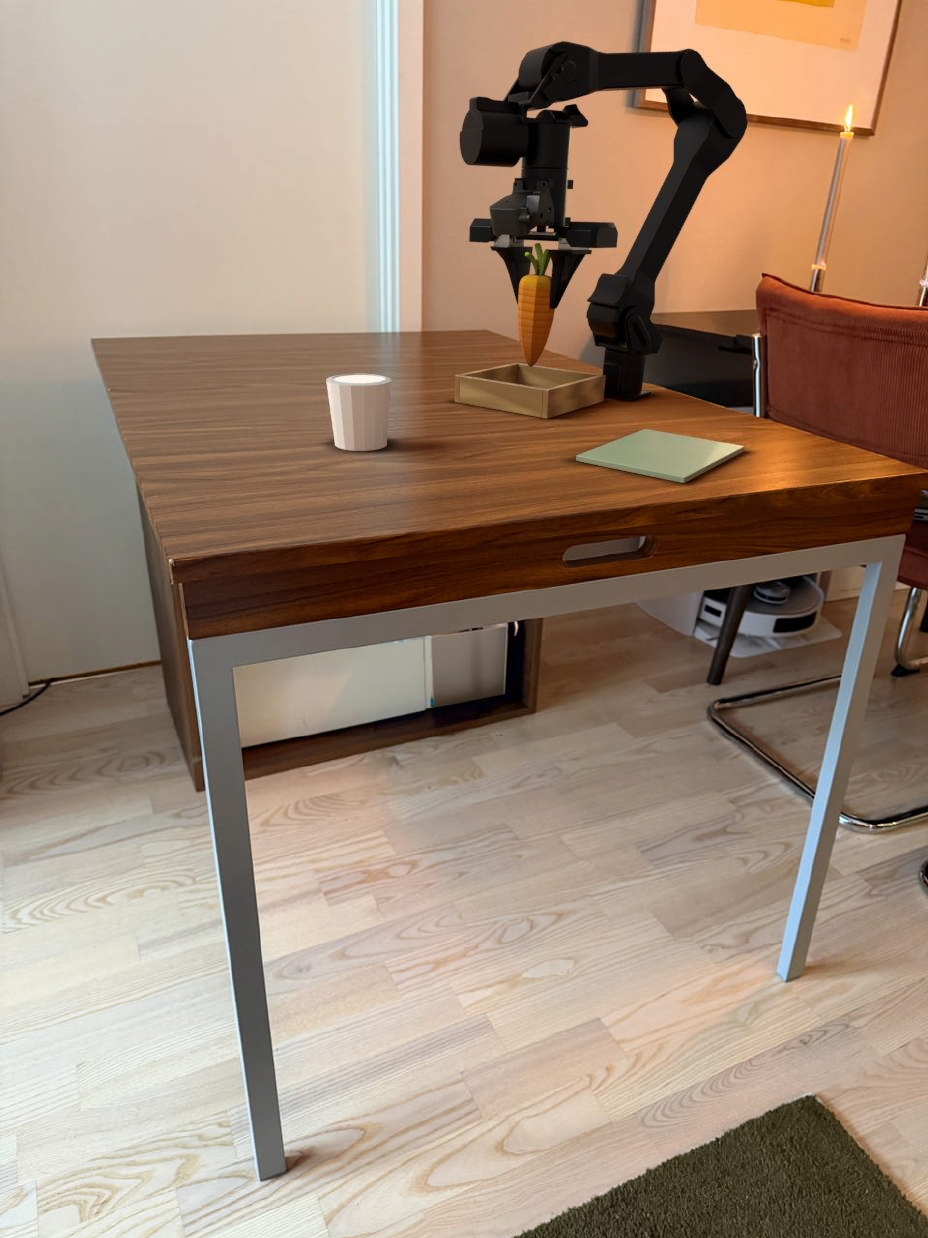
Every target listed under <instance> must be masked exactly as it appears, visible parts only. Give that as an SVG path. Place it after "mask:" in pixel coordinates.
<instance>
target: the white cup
mask: <svg viewBox="0 0 928 1238" xmlns="http://www.w3.org/2000/svg"><path fill="white" fill-rule="evenodd" d="M325 381H326V382H325V383H326V388H327V397H328V403H329V410H330V411H329V412H330V418H331V419H330V420H331V425H332V433H333V441H334V446H335V447H336V448H338V449H341V450H344V451H353V452H369V451H377V450H381V449H384V448H385V447H387V446H388V445H387V444H388V430H389V418H390V403H391V388H392V378H390V377H388V376H386V375H380V374H374V373H373V374H372V373H344V374H343V373H342V374H338V375H337V374H336V375H332V376H329V377H327V378H326V380H325Z"/></svg>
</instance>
